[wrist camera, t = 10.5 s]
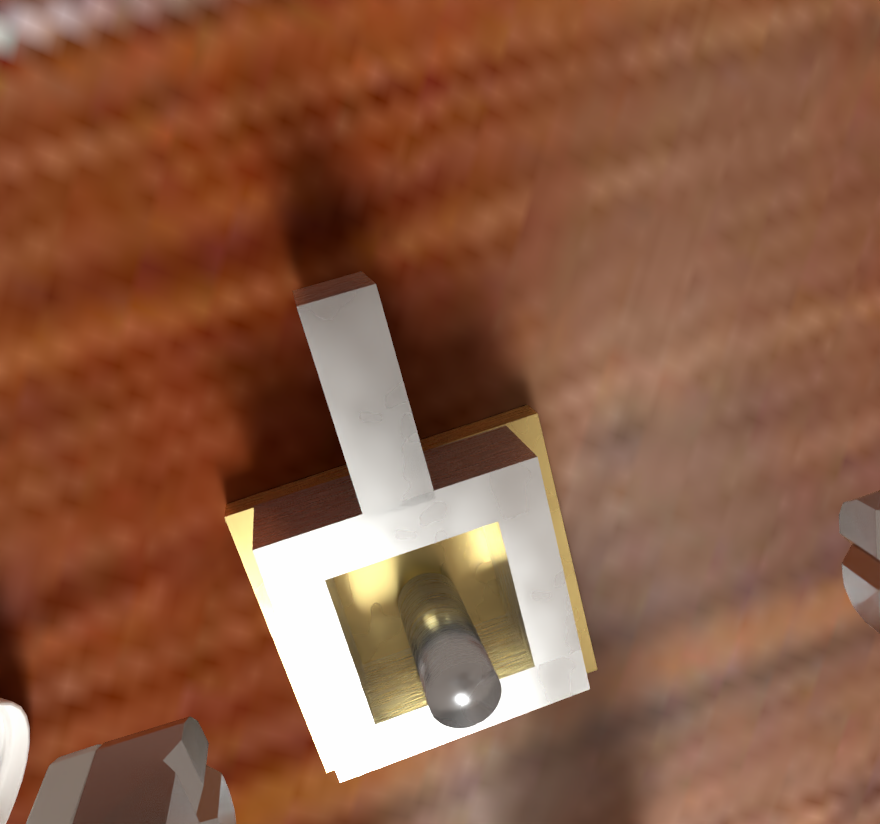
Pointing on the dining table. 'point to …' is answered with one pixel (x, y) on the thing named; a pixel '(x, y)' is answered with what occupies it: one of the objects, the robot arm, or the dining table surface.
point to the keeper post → (422, 596)
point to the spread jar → (12, 754)
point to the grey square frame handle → (406, 546)
